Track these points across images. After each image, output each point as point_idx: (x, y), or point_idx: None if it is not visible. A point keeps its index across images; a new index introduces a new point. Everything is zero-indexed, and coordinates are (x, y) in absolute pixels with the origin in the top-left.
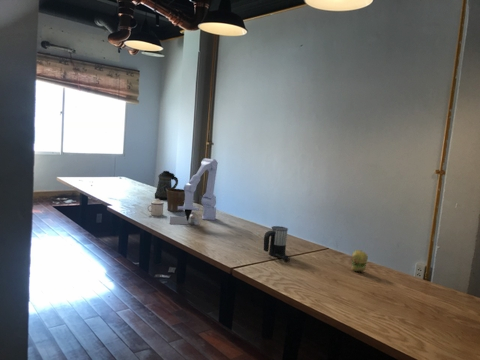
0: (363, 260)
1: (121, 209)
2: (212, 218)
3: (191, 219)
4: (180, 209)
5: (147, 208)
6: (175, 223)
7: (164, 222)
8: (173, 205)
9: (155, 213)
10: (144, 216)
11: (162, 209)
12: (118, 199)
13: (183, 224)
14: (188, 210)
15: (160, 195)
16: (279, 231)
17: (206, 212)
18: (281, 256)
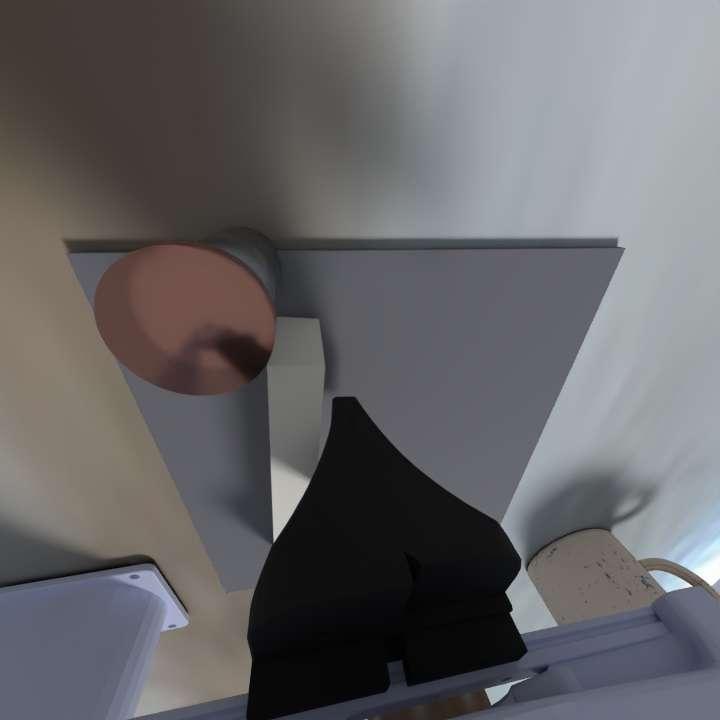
0: None
1: (705, 567)
2: (4, 609)
3: (252, 263)
4: (622, 613)
5: (706, 583)
6: (534, 284)
7: (634, 338)
8: (456, 697)
9: (611, 546)
10: (682, 490)
11: (578, 610)
12: None
13: (415, 249)
14: (385, 636)
15: None
16: None
17: (37, 709)
18: None
